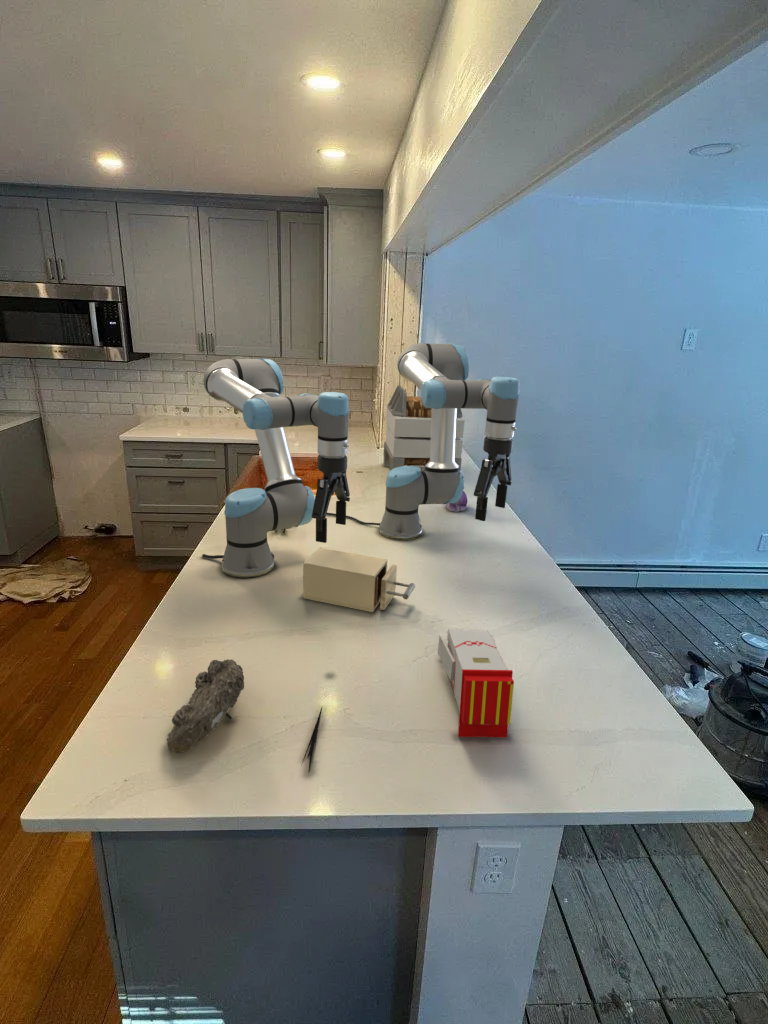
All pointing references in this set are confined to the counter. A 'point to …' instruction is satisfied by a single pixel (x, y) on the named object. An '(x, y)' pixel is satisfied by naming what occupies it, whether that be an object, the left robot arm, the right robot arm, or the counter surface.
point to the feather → (313, 740)
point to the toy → (478, 682)
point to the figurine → (458, 503)
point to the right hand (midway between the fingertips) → (490, 513)
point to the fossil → (206, 705)
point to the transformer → (412, 432)
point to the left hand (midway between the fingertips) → (331, 532)
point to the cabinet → (342, 578)
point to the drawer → (389, 587)
